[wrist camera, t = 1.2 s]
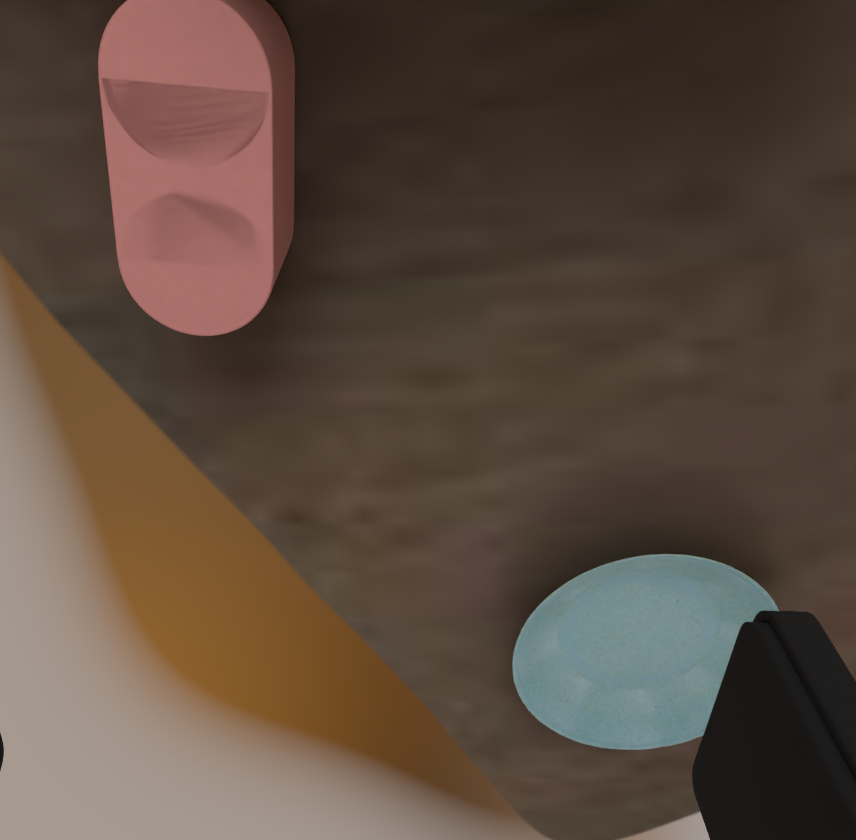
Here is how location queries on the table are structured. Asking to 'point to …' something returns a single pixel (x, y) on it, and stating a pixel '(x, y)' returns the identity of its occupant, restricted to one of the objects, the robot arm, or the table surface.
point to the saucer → (634, 649)
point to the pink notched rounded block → (199, 156)
